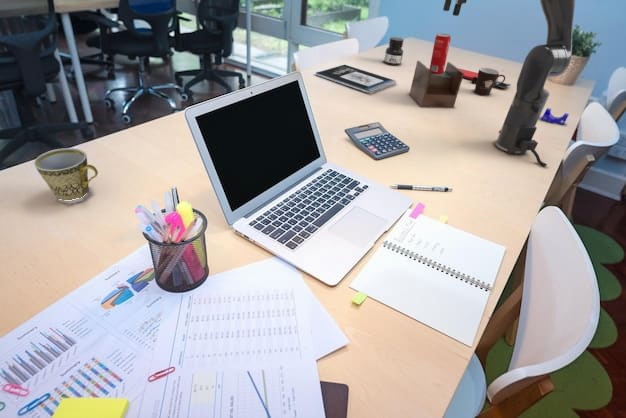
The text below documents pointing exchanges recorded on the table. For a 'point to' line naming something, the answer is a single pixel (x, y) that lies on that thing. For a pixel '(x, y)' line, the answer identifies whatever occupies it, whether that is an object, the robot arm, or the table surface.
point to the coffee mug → (486, 81)
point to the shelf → (436, 86)
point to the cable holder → (551, 118)
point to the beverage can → (439, 54)
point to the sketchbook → (356, 78)
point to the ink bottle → (394, 51)
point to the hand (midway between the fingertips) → (450, 13)
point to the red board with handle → (474, 76)
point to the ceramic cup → (66, 173)
